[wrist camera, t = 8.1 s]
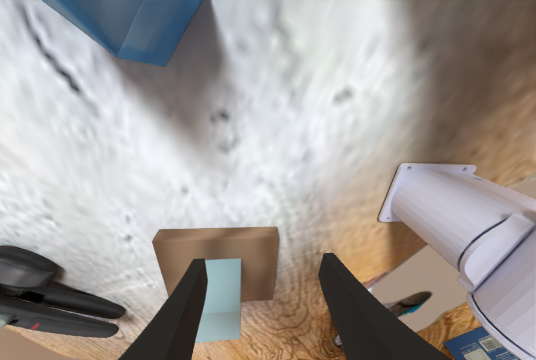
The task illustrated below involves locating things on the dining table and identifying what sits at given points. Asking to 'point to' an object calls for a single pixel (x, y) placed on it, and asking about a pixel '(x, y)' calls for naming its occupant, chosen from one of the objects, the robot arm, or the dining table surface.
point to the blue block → (221, 301)
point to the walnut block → (221, 255)
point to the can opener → (48, 299)
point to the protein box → (478, 347)
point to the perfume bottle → (131, 25)
